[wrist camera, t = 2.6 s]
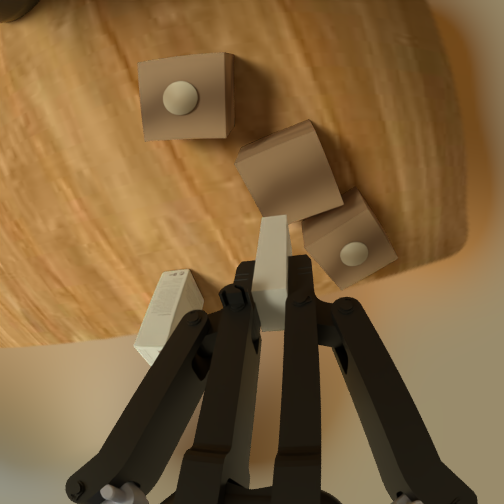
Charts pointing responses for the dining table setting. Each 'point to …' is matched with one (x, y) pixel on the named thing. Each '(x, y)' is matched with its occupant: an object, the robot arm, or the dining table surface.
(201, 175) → the dining table surface
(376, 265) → the dotted walnut block
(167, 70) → the dotted walnut block
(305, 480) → the robot arm
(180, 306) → the skincare box
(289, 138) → the plain walnut block
